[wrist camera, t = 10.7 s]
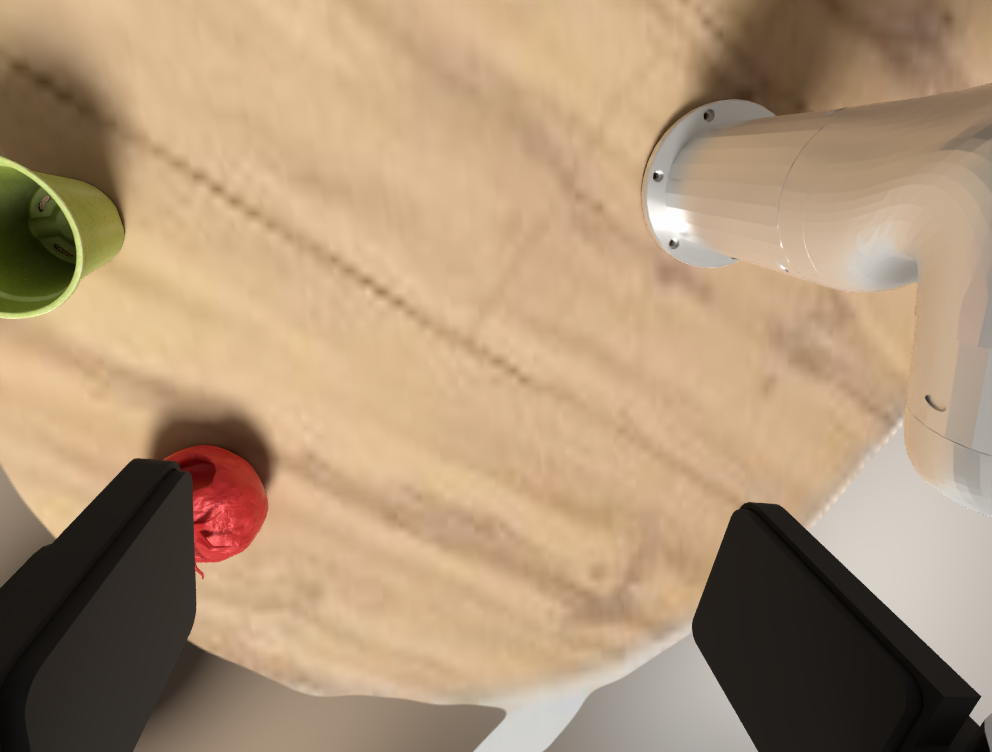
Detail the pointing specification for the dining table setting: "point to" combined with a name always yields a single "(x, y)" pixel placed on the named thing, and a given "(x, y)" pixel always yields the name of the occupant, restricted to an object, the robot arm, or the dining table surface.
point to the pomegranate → (222, 501)
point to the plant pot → (50, 238)
